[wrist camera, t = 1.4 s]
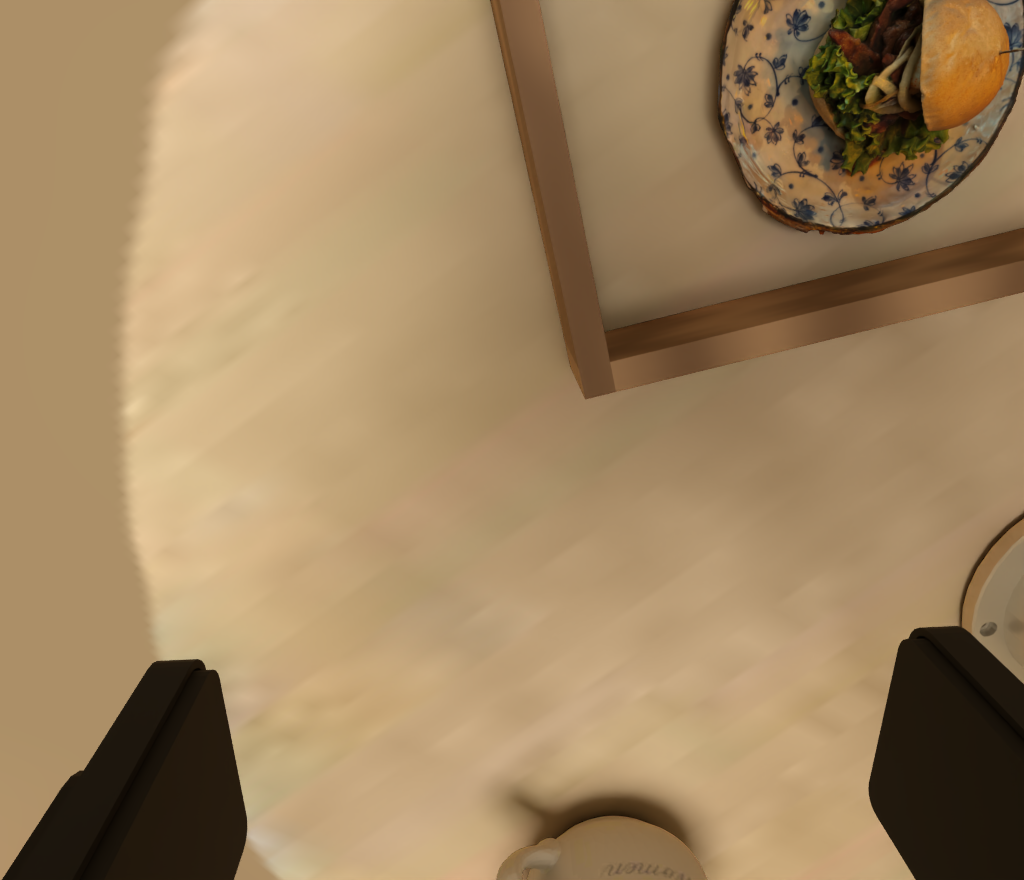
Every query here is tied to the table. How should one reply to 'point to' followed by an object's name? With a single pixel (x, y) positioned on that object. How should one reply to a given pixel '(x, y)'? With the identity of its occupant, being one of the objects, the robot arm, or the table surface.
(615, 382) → the wooden u-shaped wall
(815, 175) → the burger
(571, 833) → the teacup
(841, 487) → the table surface
